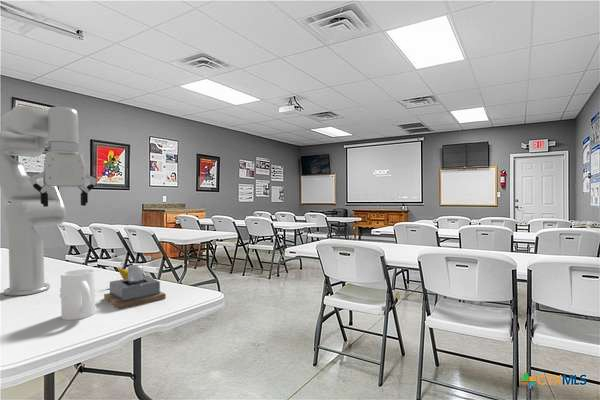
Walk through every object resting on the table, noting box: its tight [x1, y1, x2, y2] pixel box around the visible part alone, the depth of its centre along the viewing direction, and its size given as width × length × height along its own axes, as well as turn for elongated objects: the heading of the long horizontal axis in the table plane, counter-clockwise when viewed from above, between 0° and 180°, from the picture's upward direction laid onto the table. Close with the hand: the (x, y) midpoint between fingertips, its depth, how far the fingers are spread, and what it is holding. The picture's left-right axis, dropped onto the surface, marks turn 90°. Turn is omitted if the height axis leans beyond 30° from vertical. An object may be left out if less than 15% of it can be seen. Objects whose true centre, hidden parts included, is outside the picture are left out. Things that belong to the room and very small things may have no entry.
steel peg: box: [127, 264, 144, 285], centre depth 112 cm, size 4×4×9 cm
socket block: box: [109, 275, 161, 302], centre depth 112 cm, size 11×11×4 cm
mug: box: [59, 268, 96, 321], centre depth 95 cm, size 8×12×12 cm
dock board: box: [103, 290, 167, 310], centre depth 112 cm, size 14×14×2 cm
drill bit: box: [116, 267, 128, 280], centre depth 129 cm, size 5×5×10 cm
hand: (65, 206), depth 104 cm, fingers open, 9 cm apart
